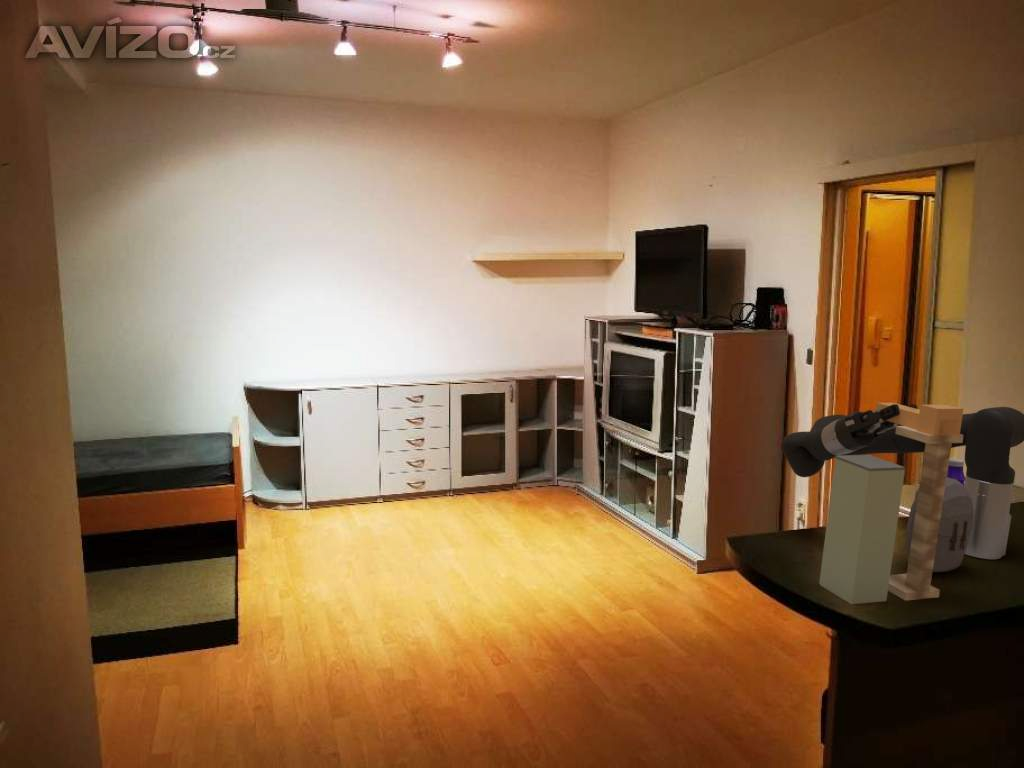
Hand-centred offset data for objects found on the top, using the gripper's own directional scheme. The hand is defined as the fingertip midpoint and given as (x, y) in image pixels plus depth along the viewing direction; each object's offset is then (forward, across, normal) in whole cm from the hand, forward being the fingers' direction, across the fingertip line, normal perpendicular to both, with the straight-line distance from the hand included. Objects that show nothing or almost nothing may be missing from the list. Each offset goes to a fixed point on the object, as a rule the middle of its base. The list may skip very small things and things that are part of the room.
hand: (906, 409), depth 154 cm
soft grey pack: (-19, -15, -30) cm, 38 cm away
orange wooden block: (0, 0, -4) cm, 4 cm away
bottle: (-38, -40, -19) cm, 58 cm away
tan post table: (-12, 0, -33) cm, 35 cm away
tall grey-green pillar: (-13, +12, -33) cm, 37 cm away
